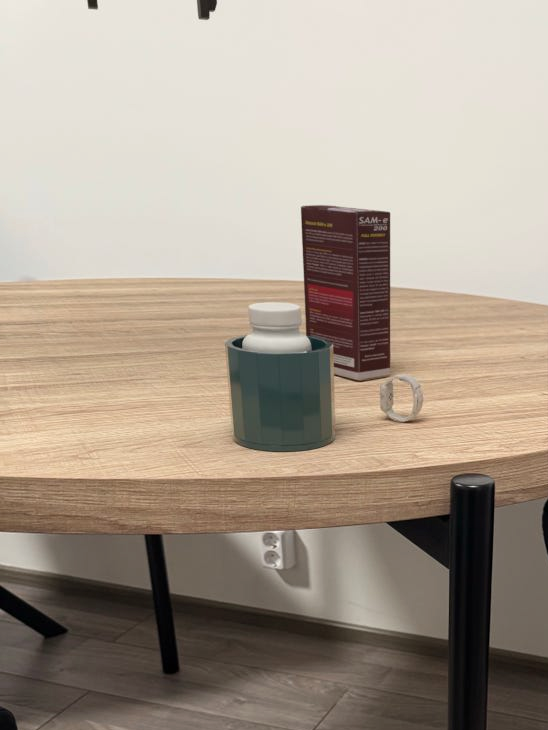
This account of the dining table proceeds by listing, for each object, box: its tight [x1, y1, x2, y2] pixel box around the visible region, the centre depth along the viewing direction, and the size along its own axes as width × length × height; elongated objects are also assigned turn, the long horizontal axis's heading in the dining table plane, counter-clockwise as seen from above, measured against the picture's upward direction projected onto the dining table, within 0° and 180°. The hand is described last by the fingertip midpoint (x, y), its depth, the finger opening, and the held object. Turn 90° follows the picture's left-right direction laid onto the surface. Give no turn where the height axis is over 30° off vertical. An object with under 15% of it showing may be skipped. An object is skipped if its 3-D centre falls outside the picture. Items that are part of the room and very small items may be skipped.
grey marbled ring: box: [379, 373, 425, 423], centre depth 83 cm, size 4×2×4 cm, turn 73°
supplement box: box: [300, 204, 391, 382], centre depth 96 cm, size 9×5×16 cm, turn 48°
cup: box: [224, 334, 336, 452], centre depth 76 cm, size 8×8×8 cm
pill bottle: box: [242, 301, 312, 353], centre depth 75 cm, size 5×5×10 cm
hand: (149, 13), depth 76 cm, fingers open, 8 cm apart
